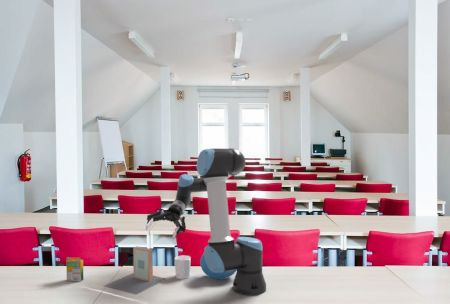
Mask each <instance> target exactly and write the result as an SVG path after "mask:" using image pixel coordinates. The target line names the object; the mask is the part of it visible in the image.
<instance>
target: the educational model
mask: <svg viewBox="0 0 450 304" xmlns="http://www.w3.org/2000/svg"><path fill="white" fill-rule="evenodd" d="M199 263H200V267H201V270H202V271H203V273H204V274H205V275H206V276H208V277H209V278H210V279H214V280H223V279H228V278H230V277H231V276H233V275H234V274H236V273H237V269H235V270H230V271H224V272H217V273H214V272H212V271H211V270H210V269H209V268H208V266H207V264H206V262H205V258H204V253H203V254H202V255H201V257H200V261H199Z"/></svg>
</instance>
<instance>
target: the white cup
mask: <svg viewBox="0 0 450 304" xmlns="http://www.w3.org/2000/svg"><path fill="white" fill-rule="evenodd" d="M191 258H192V257H191V256H190V255H185V254H183V255H177V256H175V257H174V269H175V271H174V272H175V278H176V279H178V280H187V279H189V278H190V277H191V262H192V261H191Z"/></svg>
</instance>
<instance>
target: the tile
mask: <svg viewBox="0 0 450 304" xmlns="http://www.w3.org/2000/svg"><path fill="white" fill-rule="evenodd" d="M132 252H133V253H132V255H133V256H132V257H133V263H132V264H133V273H134V278H136V279H141V280H145V281H149V282H150V281H152V280H153V276H154V275H153V269H154V268H153V261H154V259H153V248H148V247H142V246H133V249H132Z"/></svg>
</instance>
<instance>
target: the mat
mask: <svg viewBox="0 0 450 304" xmlns="http://www.w3.org/2000/svg"><path fill="white" fill-rule="evenodd" d="M167 279H168V278H166V277H161V276H157V275H153V280H152V281H150V282H149V281H145V280H141V279H136V278H134V272H132V273H130V274H128V275H124V277H121V278H118V279H117V280H114V281H112V282H109V283H107V284H105V285H104V287H105V288H109V289H112V290H117V291H121V292H126V293H129V294H132V295H133V294H134V295H138V294H141V293H142V292H144V291H146V290H148V289H150V288H151V287H154V286H156V285H158V284H159V283H161V282H164V281H165V280H167Z"/></svg>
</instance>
